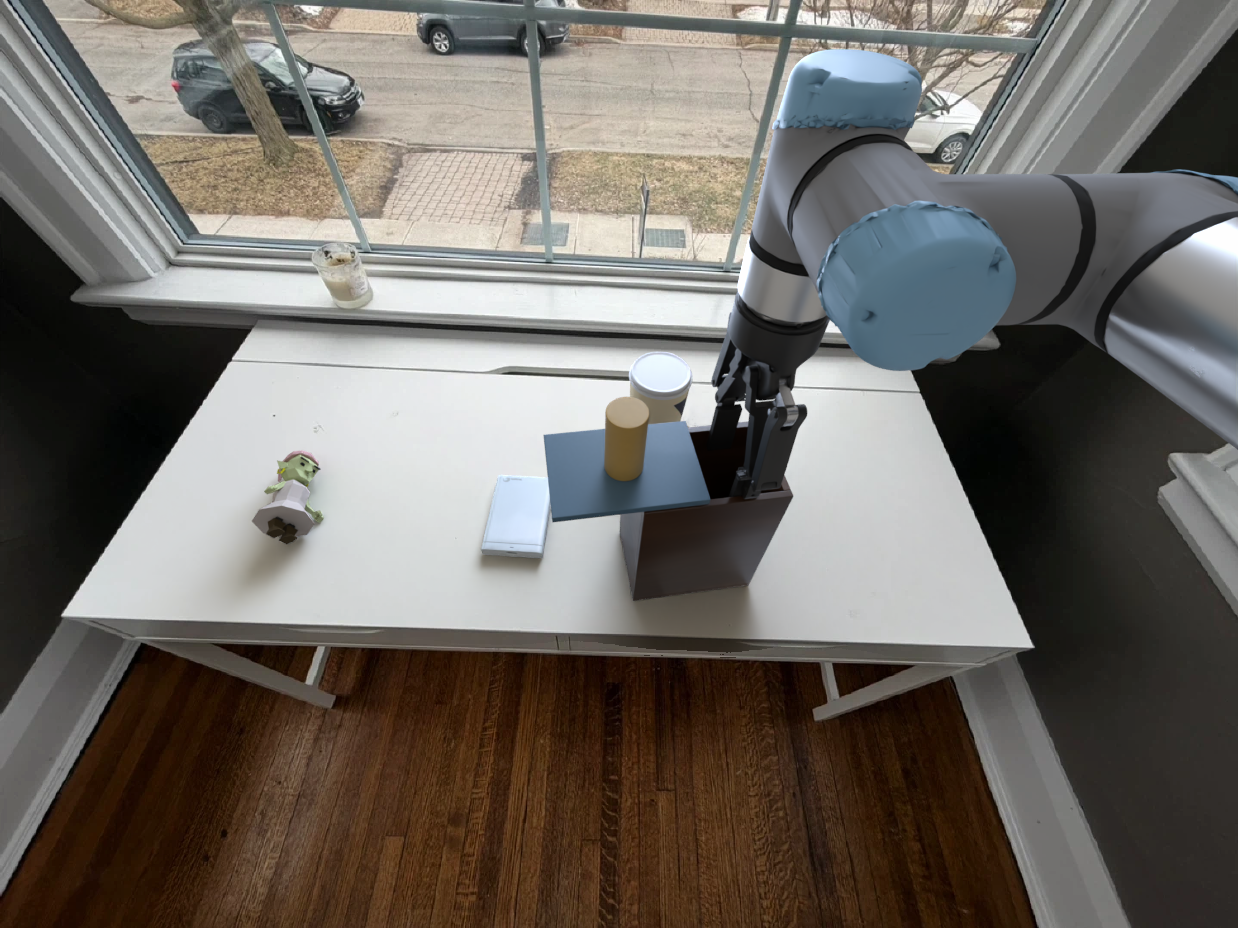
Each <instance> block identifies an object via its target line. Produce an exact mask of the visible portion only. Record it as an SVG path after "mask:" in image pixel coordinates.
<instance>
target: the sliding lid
mask: <svg viewBox="0 0 1238 928" xmlns="http://www.w3.org/2000/svg"><path fill="white" fill-rule="evenodd" d="M604 417H605V419H604V420H605V421H604V428H597V429H588V430H579V431H577V430H576V431H567V432H558V433H556V432H555V433H547V434H546V433H545V434H543V444H544V452H545V453H544V454H545V455H544V456H545V463H546V464H545V465H546V475H547V478H548V485H549V494H550V504H551V505H550V513H551V521H552V523H560V522H568V521H569V522H570V521H576V520H577V521H578V520H585V519H594V518H602V517H603V518H604V517H611V516H621V514H629V513H637V512H646V511H654V510H663V509H671V508H680V507H688V506H697V505H705V504H709V503H710V500H711V499H710V496H709V493H708V490H707V487H706V484H705V480H704V477H703V474H702V471H701V468H700V465H699V462H698V458H697V455H696V452H695V449H694V446H693V443H692V439H691V436H690V433H689V430H688V424H687V421H686V420H681V421H679V422H669V423H659V424H648V422H649V409H648V407H647V406H646V404H645V403H644V402H642V401H641V400H639V399H637V398H634V397H630V396H621V397H620V396H619V397H616V398H613V400H611V401H610V402H609V403H608V404H607V406H606V407H605V415H604Z"/></svg>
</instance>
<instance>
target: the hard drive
mask: <svg viewBox="0 0 1238 928" xmlns="http://www.w3.org/2000/svg"><path fill="white" fill-rule="evenodd" d="M496 478H497V479H496V483H495V487H494V492H493V496H492V500H491V505H490V508H489V512H488V516H487V517H488V518H487V522H486V526H485V530H484V534H483V539H482V542H481V543H482V544H481V548H480V552H481V555H485V556H498V557H499V556H500V557H502V556H503V557H515V558H529V559H530V558H531V559H542V558H543V556H544V549H545V543H546V536H547V532H548V531H547V530H548V524H549V518H550V513H551V504H550V494H549V485H548V477H546V476H545V477H544V476H527V475H509V474H508V475H507V474H499V475H497V477H496Z"/></svg>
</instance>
